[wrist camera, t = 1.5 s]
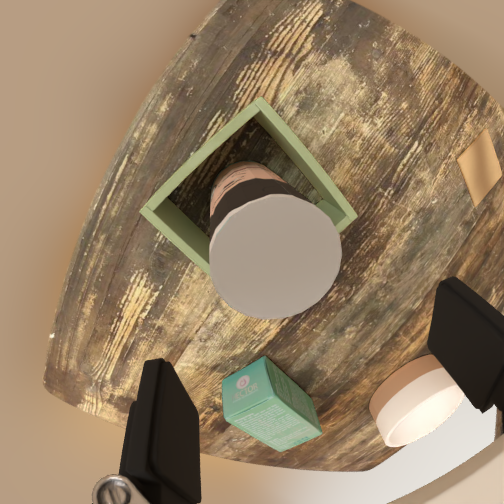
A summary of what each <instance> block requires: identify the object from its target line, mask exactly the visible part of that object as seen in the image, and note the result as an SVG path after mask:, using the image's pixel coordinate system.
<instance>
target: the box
mask: <svg viewBox="0 0 504 504" xmlns="http://www.w3.org/2000/svg"><path fill="white" fill-rule="evenodd" d="M222 404H223V415H224V418H225V419H226V421H227V422H229V423H231V424H232V425H234V426H236V427H237V428H239V429H241V430H243V431H244V432H246V433H248V434H249V435H251V436H253V437H254V438H256V439H258V440H260V441H261V442H263V443H265V444H267V445H268V446H270V447H272V448H274V449H275V450H278V451H280V452H282V451H285V450H287V449H290V448H292V447H294V446H297V445H299V444H301V443H304V442H306V441H308V440H310V439H313V438H315V437H317V436H319V435H321V434H322V430H321V426H320V423H319V420H318V417H317V414H316V411H315V407H314V404H313V401H312V399H311V398H310V397H309V396H308V395H307V394H306V393H305V392H304V391H303V390H302V389H301V388H300V387H299V386H298V385H297V384H296V383H295V382H293V381H292V380H291V379H290V378H289V377H288V376H287V375H286V374H285V373H284V372H282V371H281V370H280V369H279V368H278V367H277V366H276V365H275V364H274V363H273V362H272V361H271V360H270V359H269V358H267V357H266V356H263V357H261V358H260V359H258V360H256V361H255V362H253V363H251V364H250V365H248V366H246V367H245V368H243V369H241V370H239V371H237V372H236V373H234V374H232V375H230V376H228V377H227V378H225V379H224V380H223V381H222Z"/></svg>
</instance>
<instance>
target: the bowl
mask: <svg viewBox="0 0 504 504" xmlns="http://www.w3.org/2000/svg"><path fill="white" fill-rule="evenodd" d="M464 396H465V394H464V393H463V391H462V390H461V389H460V388H459V386H458V385H457V384H456V382H455V381H454V380H453V379H452V377H451V376H450V375H449V374H448V372H447V371H446V370H445V369H444V367H443V366H442V365H441V364H440V362H439V361H438V360H437V359H436V357H435V356H434V355H426V356H422V357H420V358H417V359H415V360H413V361H411V362H409V363H407V364H406V365H404V366H402V367H401V368H399V369H398V370H397V371H395V372H394V373H393V374H391V375H390V376H389V377H388V378H387V379H386V380H385V381H384V382H383V383H382V384H381V385H380V386H379V387H378V389H377V390H376V391H375V393H374V394H373V396H372V398H371V400H370V403H369V411H370V413H371V415H372V417H373V419H374V421H375V423H376V425H377V427H378V429H379V431H380V433H381V435H382V438H383V440H384V442H385V444H386V445H387V446H389V447H399V446H403V445H406V444H409V443H411V442H414V441H416V440H418V439H420V438H422V437H424V436H425V435H427V434H429V433H430V432H432V431H433V430H435V429H436V428H437V427H439V426H440V425H441V424H442V423H443V422H444V421H446V420H447V419H448V418H449V417H450V416H451V415H452V414H453V413H454V411H455V410H456V409H457V408H458V406H459V405H460V404H461V402H462V400H463V399H464Z"/></svg>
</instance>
